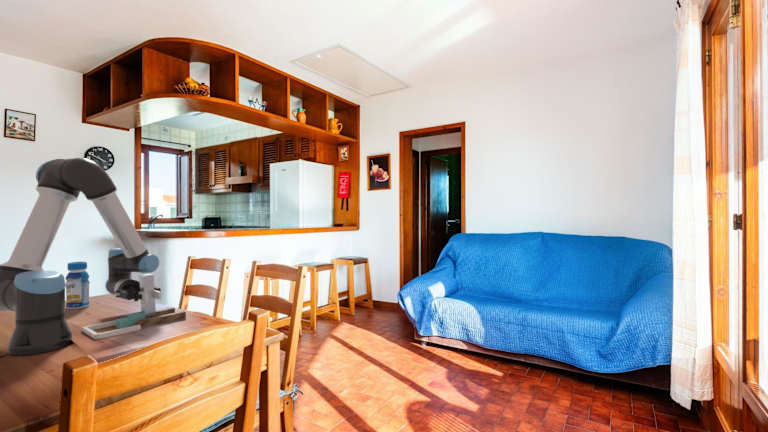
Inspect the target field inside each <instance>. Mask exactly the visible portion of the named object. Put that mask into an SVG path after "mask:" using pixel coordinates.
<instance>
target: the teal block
mask: <svg viewBox="0 0 768 432" xmlns="http://www.w3.org/2000/svg"><path fill="white" fill-rule="evenodd" d="M128 316H129V317H131V318H133V326H136V325H137V320H142V319H146V313H144V312H141V311H137V312H132V313H128Z"/></svg>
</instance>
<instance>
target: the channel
mask: <svg viewBox="0 0 768 432" xmlns="http://www.w3.org/2000/svg"><path fill="white" fill-rule="evenodd" d="M155 311H156V312H157V316H156V317H152V318H147V319H142V320H137V325H141V329H144V328H149V327H153V326H154V327H155V326H157V325H162V324H167V323H171V322H176V321H179V320H180V321H181V320H184V319H185V320H186V319H187V314H186V313H187V312H186V311H184V310H181V311H178V312H177V311H176V308H175V307H173V306H172V307H167V308H163V309H159V310H155ZM126 317H129V315H126Z"/></svg>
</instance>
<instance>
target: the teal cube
mask: <svg viewBox="0 0 768 432" xmlns="http://www.w3.org/2000/svg"><path fill="white" fill-rule="evenodd" d="M115 320H116V325H115V327H116V330H117V329H122V328H126V327H131V326H133V318H131V317H127V316H125V317H122V318H116V319H115Z"/></svg>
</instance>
